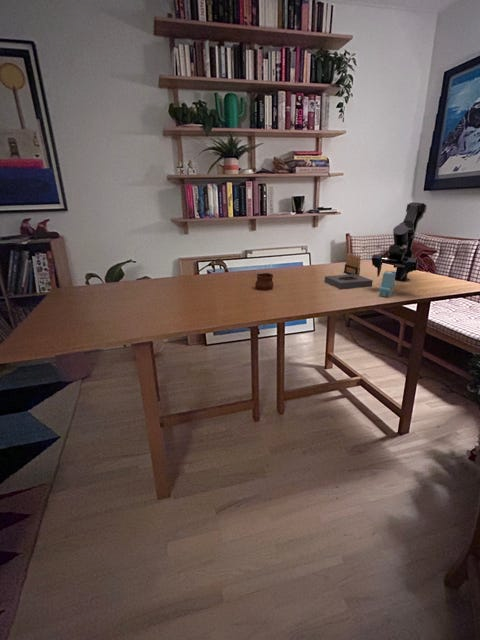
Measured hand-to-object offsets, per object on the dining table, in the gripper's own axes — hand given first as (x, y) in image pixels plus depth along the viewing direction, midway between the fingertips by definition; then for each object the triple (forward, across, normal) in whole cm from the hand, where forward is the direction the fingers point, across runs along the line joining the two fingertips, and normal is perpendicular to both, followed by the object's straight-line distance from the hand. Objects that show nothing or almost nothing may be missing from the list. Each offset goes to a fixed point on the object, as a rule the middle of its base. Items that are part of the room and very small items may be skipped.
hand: (388, 277), depth 140 cm
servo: (+5, 0, +6) cm, 8 cm away
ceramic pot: (+23, -50, -11) cm, 56 cm away
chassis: (0, -20, +11) cm, 22 cm away
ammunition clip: (-15, -25, +26) cm, 39 cm away
